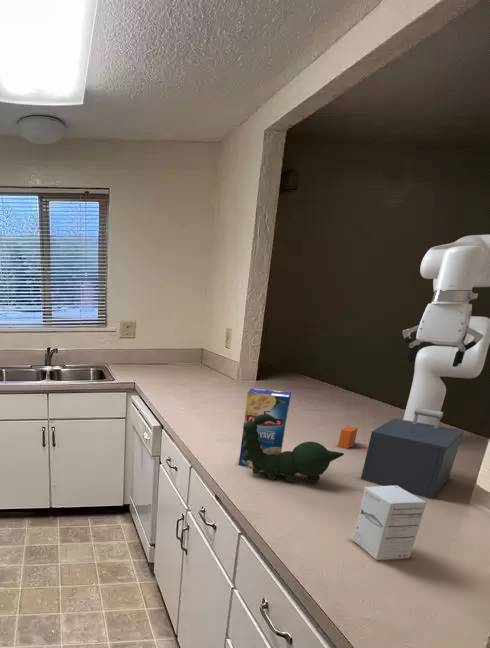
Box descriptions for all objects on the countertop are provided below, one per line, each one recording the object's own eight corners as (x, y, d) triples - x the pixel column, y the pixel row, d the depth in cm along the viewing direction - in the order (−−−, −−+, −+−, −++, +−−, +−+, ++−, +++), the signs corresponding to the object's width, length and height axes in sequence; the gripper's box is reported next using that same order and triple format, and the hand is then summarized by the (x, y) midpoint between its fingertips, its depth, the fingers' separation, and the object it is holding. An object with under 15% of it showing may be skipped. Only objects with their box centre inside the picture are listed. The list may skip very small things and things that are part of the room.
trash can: (382, 462, 131) (392, 421, 127) (448, 478, 120) (462, 434, 115) (360, 478, 120) (371, 434, 116) (431, 498, 109) (445, 450, 104)
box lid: (393, 420, 127) (397, 402, 125) (463, 433, 116) (469, 414, 114) (371, 434, 115) (375, 414, 114) (445, 450, 104) (452, 428, 102)
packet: (344, 442, 148) (348, 425, 146) (354, 444, 146) (358, 427, 144) (337, 446, 144) (341, 429, 142) (347, 448, 142) (351, 431, 140)
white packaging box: (350, 540, 91) (363, 485, 87) (383, 538, 92) (398, 484, 87) (375, 561, 84) (390, 503, 80) (411, 559, 85) (428, 501, 80)
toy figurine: (241, 483, 121) (343, 490, 112) (242, 418, 115) (351, 419, 106) (242, 471, 129) (338, 476, 120) (244, 409, 123) (344, 410, 114)
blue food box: (277, 471, 125) (289, 397, 118) (238, 464, 130) (247, 392, 122) (279, 463, 131) (291, 391, 123) (242, 457, 136) (250, 388, 128)
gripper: (497, 298, 109) (476, 366, 114) (415, 297, 121) (400, 359, 127) (492, 298, 104) (470, 369, 110) (407, 297, 117) (391, 361, 122)
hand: (432, 364), depth 118 cm, fingers open, 9 cm apart
